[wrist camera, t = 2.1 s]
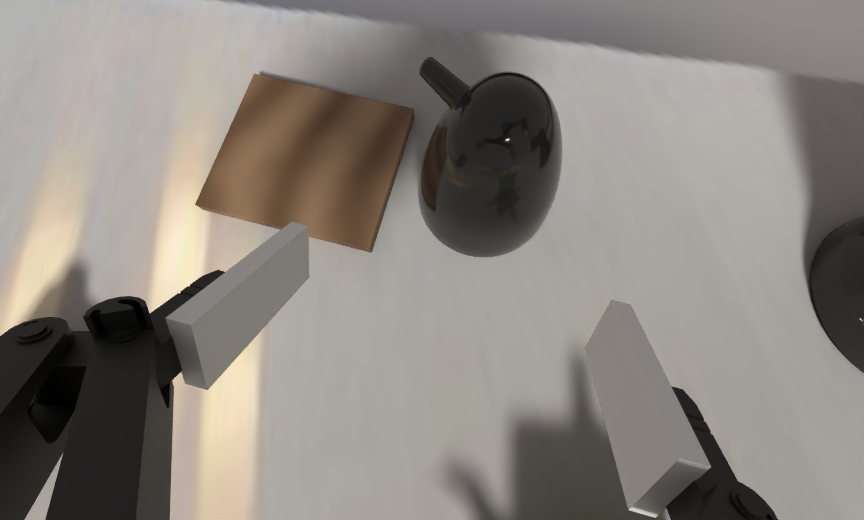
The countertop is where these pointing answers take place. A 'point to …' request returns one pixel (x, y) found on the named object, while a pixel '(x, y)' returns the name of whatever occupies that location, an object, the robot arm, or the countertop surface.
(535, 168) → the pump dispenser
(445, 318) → the countertop surface
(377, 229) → the plate
